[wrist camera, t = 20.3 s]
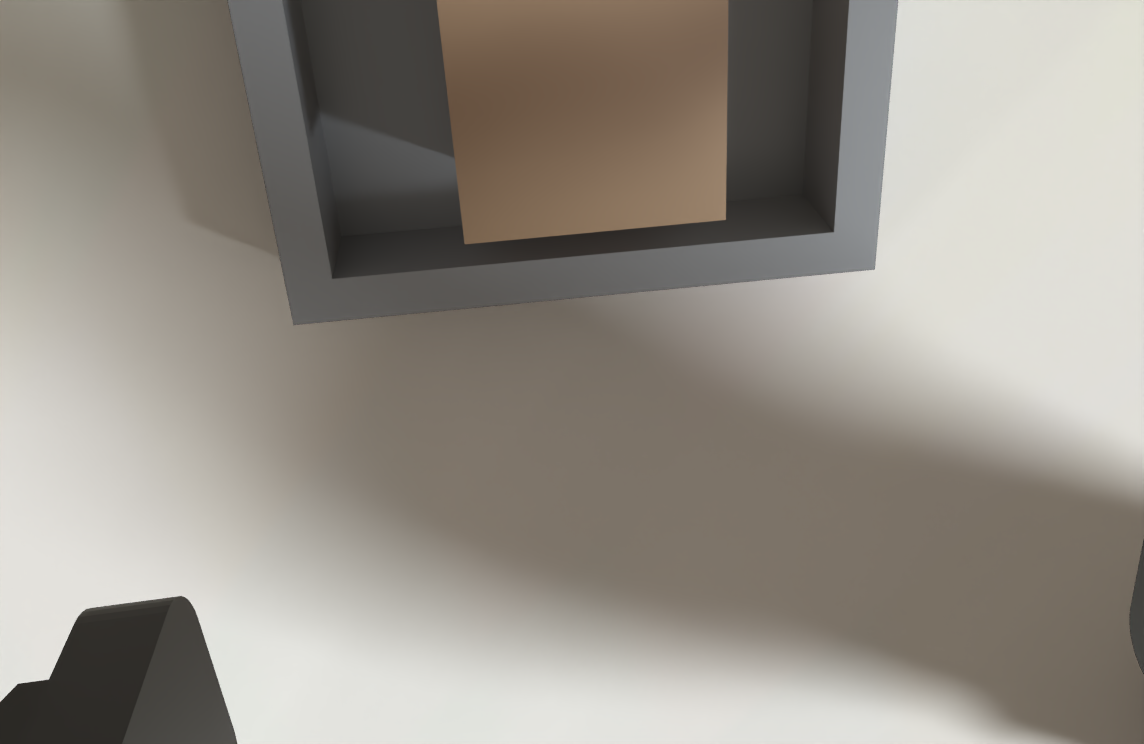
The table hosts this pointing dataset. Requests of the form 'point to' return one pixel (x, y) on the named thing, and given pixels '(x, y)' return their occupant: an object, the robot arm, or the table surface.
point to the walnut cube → (586, 114)
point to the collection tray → (567, 262)
